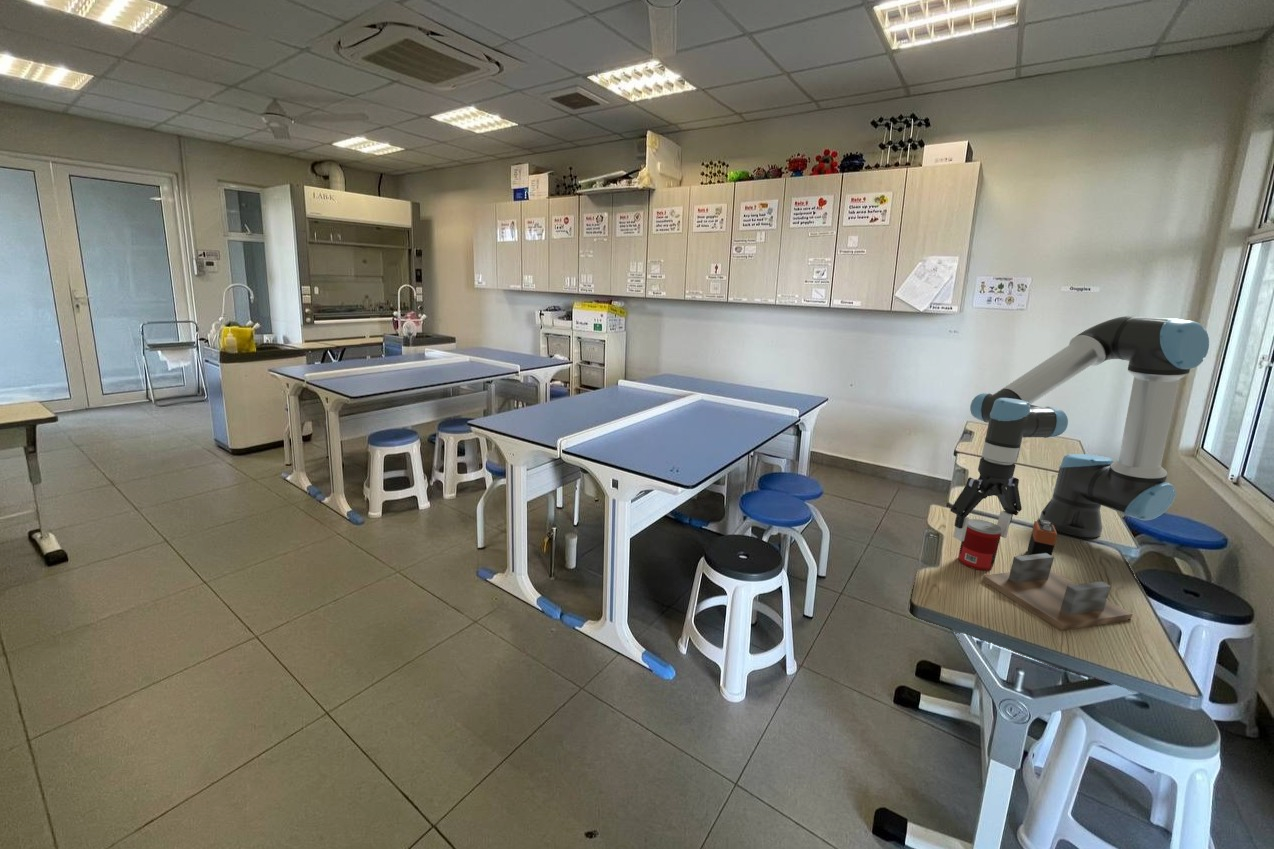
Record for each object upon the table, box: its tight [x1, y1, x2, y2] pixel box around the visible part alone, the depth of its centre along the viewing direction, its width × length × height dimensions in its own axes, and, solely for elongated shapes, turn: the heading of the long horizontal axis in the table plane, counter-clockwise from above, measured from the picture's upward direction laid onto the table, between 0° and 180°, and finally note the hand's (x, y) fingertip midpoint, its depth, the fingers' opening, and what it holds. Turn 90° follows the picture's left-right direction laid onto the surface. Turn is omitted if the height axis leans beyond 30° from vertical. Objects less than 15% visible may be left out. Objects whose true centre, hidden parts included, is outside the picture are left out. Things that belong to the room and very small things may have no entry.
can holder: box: [981, 553, 1133, 631], centre depth 126 cm, size 20×20×8 cm
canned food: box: [958, 518, 1002, 571], centre depth 141 cm, size 8×8×11 cm
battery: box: [1027, 520, 1058, 556], centre depth 145 cm, size 4×7×10 cm, turn 150°
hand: (979, 537), depth 141 cm, fingers open, 13 cm apart
